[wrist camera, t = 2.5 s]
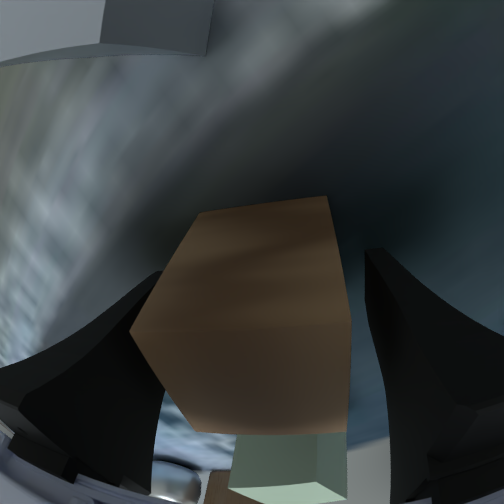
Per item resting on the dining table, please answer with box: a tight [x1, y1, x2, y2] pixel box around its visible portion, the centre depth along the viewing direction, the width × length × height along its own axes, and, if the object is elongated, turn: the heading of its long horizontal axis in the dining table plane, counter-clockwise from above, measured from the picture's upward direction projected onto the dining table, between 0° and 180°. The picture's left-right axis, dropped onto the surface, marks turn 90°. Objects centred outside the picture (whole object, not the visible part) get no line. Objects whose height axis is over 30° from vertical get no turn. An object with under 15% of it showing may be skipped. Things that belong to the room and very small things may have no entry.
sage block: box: [228, 432, 347, 504], centre depth 15 cm, size 4×4×6 cm
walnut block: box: [129, 195, 352, 435], centre depth 9 cm, size 4×4×6 cm
